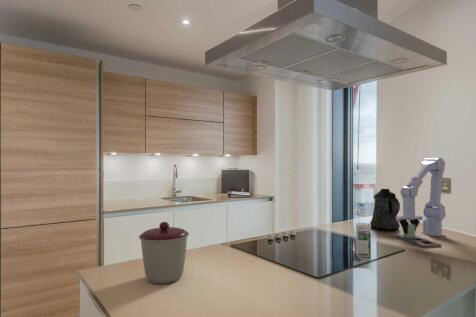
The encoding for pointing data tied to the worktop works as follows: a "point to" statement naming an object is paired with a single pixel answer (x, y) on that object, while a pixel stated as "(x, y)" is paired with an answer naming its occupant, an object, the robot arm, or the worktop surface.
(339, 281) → the worktop surface
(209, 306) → the worktop surface
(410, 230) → the peg
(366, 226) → the syrup box
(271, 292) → the worktop surface
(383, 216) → the beer stein
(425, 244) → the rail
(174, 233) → the canister
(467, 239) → the worktop surface
